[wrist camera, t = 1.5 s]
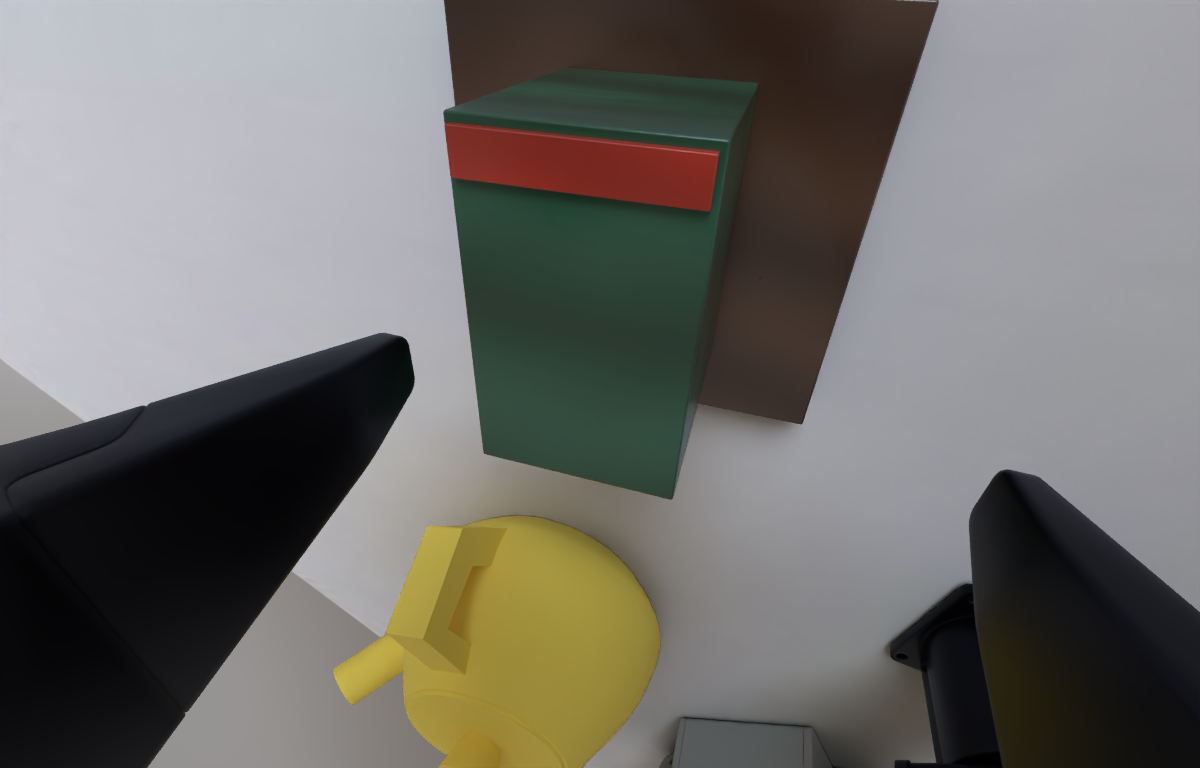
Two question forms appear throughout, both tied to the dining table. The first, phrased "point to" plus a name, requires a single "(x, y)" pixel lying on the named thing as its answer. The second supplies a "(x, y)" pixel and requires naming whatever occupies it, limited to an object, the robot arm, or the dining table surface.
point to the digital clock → (745, 746)
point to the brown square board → (774, 154)
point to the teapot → (514, 644)
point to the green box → (596, 263)
